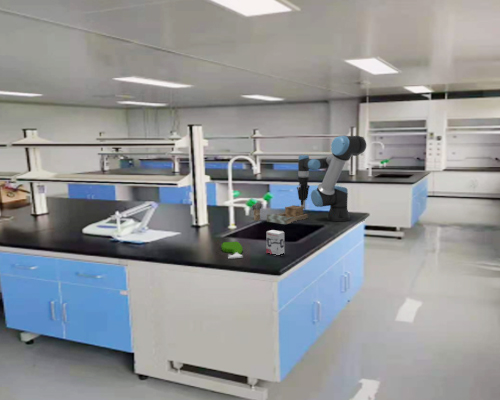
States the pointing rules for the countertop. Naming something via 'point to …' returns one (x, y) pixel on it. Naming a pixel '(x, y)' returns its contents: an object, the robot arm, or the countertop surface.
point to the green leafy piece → (232, 249)
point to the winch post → (257, 211)
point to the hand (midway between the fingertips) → (303, 208)
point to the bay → (284, 218)
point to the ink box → (275, 242)
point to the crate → (293, 211)
